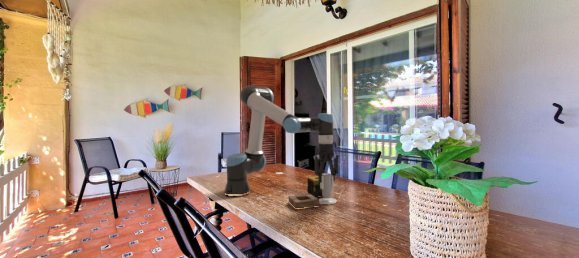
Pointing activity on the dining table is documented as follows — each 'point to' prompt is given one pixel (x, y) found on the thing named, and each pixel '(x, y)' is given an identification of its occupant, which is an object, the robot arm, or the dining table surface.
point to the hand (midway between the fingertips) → (326, 188)
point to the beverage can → (327, 186)
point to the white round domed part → (327, 200)
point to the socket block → (303, 201)
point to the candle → (314, 186)
